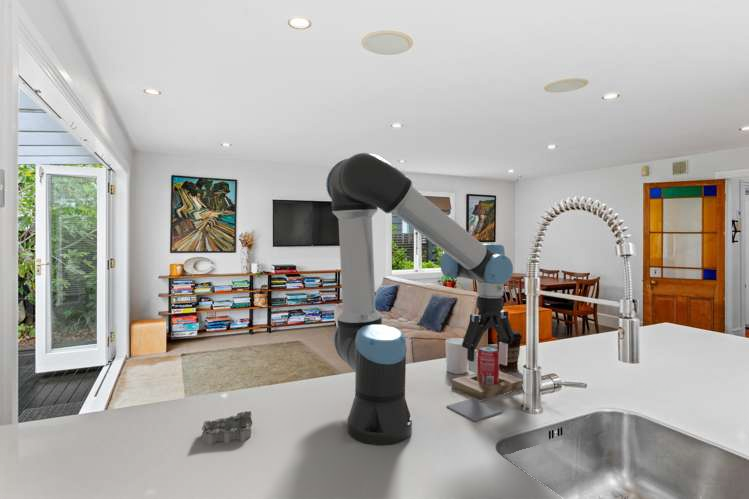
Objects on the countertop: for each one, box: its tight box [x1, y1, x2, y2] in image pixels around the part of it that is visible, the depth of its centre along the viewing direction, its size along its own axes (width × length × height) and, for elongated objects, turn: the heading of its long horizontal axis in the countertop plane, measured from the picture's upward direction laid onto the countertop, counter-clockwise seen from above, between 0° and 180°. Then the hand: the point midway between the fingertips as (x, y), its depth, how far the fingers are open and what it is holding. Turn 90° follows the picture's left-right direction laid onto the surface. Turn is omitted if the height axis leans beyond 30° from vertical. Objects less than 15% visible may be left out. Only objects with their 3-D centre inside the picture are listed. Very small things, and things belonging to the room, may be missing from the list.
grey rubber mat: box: [446, 397, 503, 423], centre depth 112 cm, size 10×10×1 cm
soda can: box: [477, 345, 500, 386], centre depth 127 cm, size 6×6×12 cm
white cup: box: [445, 337, 468, 375], centre depth 142 cm, size 8×8×10 cm
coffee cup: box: [496, 329, 523, 373], centre depth 144 cm, size 9×8×13 cm
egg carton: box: [201, 410, 253, 445], centre depth 96 cm, size 11×8×4 cm
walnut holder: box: [451, 370, 524, 402], centre depth 127 cm, size 18×12×2 cm, turn 123°
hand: (488, 367), depth 127 cm, fingers open, 12 cm apart
